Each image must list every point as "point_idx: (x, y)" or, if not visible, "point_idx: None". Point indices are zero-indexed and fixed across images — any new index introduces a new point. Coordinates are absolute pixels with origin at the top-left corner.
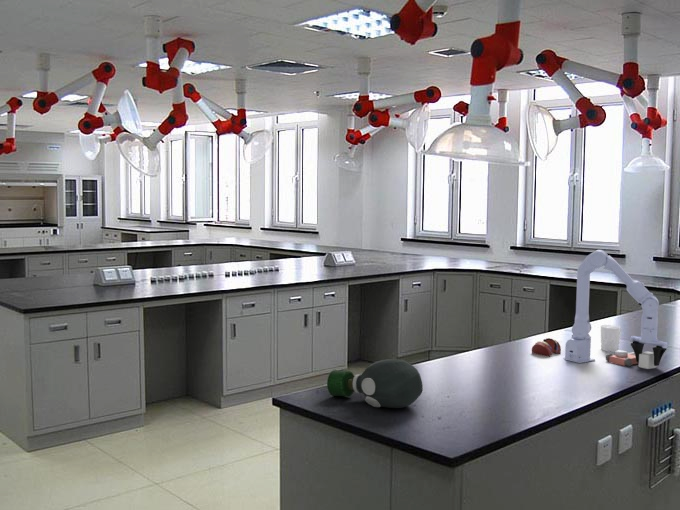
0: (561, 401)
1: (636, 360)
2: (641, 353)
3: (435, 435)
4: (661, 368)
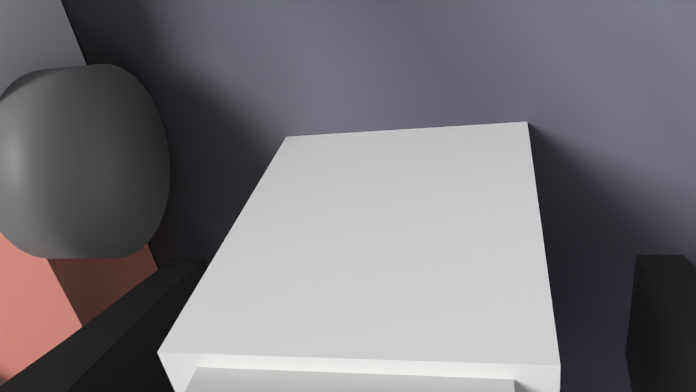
0: None
1: None
2: (96, 388)
3: None
4: (662, 86)
